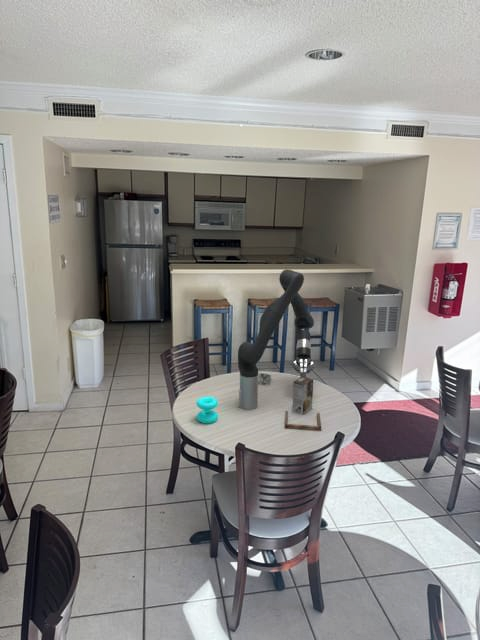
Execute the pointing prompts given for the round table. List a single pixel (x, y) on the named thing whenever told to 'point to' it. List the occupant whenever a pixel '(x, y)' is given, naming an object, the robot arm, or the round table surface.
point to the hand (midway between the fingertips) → (303, 379)
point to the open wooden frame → (303, 427)
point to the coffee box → (302, 395)
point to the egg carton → (264, 378)
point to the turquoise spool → (207, 410)
